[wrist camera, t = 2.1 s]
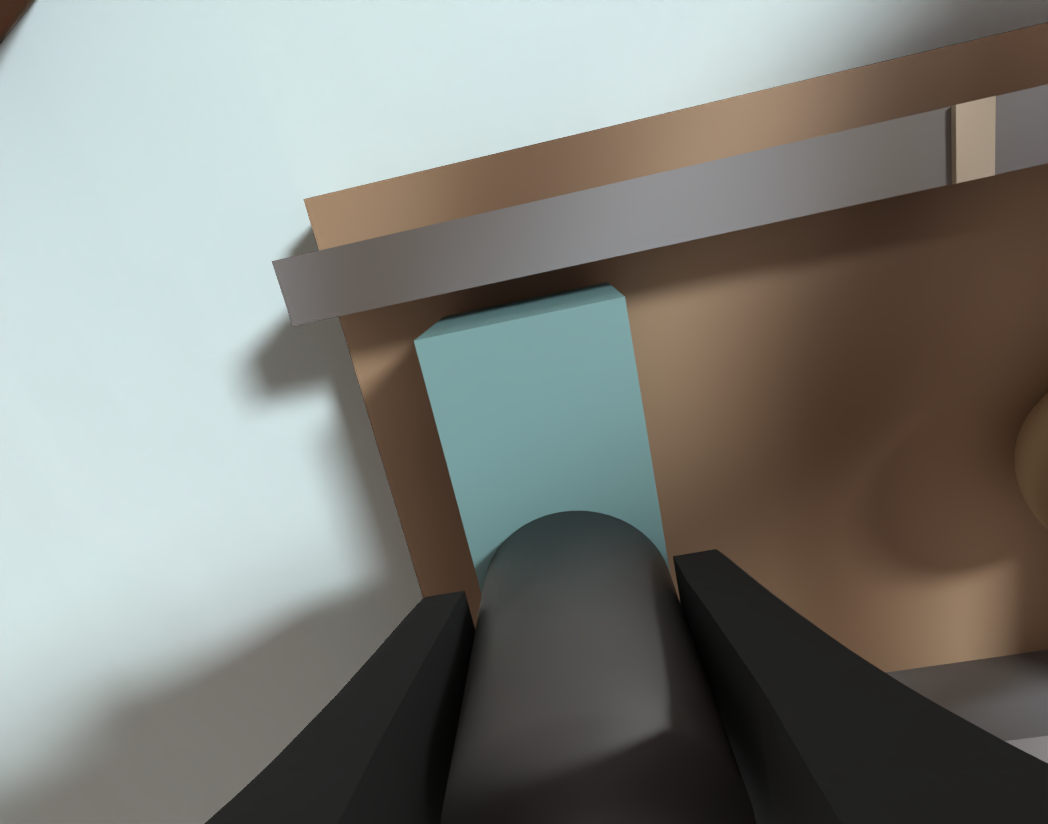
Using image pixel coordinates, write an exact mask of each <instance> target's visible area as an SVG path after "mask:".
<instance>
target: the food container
mask: <svg viewBox="0 0 1048 824" xmlns="http://www.w3.org/2000/svg"><path fill="white" fill-rule="evenodd" d="M33 1H34V0H0V43H1V42H2V40H3V39H4V38H5V37H6V35H7V34H8V33H9V32H10V30H11V29H12V28H13V26H14V25H15V24H16V23H17V21H18V20H19V19H20V17H21V16H22V15H23V14H24V12H25V11H26V10H27V9H28V7H29V6H30V5H31V3H32V2H33Z"/></svg>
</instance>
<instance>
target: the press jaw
mask: <svg viewBox="0 0 1048 824" xmlns="http://www.w3.org/2000/svg"><path fill="white" fill-rule="evenodd" d="M414 344H415V347H416V351H417V355H418V358H419V362H420V366H421V370H422V373H423V377H424V381H425V385H426V388H427V392H428V396H429V400H430V403H431V407H432V411H433V414H434V418H435V422H436V426H437V429H438V433H439V437H440V441H441V444H442V448H443V452H444V456H445V459H446V463H447V467H448V471H449V474H450V478H451V482H452V485H453V489H454V493H455V497H456V500H457V504H458V508H459V512H460V515H461V519H462V523H463V527H464V530H465V534H466V538H467V541H468V545H469V549H470V553H471V556H472V560H473V564H474V568H475V571H476V575H477V579H478V583H479V586H480V590H481V594H482V597H481V602H480V608H479V613H478V619H477V624H476V629H475V635H474V640H473V646H472V651H471V657H470V662H469V667H468V673H467V678H466V684H465V689H464V695H463V700H462V705H461V711H460V716H459V722H458V727H457V733H456V738H455V744H454V749H453V754H452V760H451V765H450V771H449V776H448V782H447V787H446V792H445V798H444V803H443V809H442V814H441V824H756V819H755V814H754V810H753V806H752V803H751V801H750V798H749V795H748V792H747V789H746V786H745V784H744V781H743V778H742V775H741V772H740V770H739V767H738V764H737V761H736V758H735V755H734V753H733V750H732V747H731V744H730V741H729V739H728V736H727V733H726V730H725V727H724V724H723V722H722V719H721V716H720V713H719V710H718V708H717V705H716V702H715V699H714V696H713V693H712V691H711V688H710V685H709V682H708V679H707V676H706V674H705V671H704V668H703V665H702V662H701V660H700V657H699V654H698V652H697V649H696V646H695V643H694V640H693V637H692V635H691V632H690V629H689V626H688V623H687V620H686V618H685V615H684V612H683V609H682V606H681V604H680V600H679V598H678V595H677V592H676V589H675V586H674V583H673V581H672V578H671V575H670V569H669V563H668V557H667V551H666V545H665V539H664V533H663V527H662V520H661V514H660V508H659V502H658V496H657V490H656V484H655V478H654V471H653V465H652V459H651V453H650V447H649V441H648V435H647V429H646V422H645V416H644V410H643V404H642V398H641V392H640V386H639V380H638V373H637V367H636V361H635V355H634V349H633V343H632V337H631V331H630V324H629V318H628V312H627V306H626V300H625V296H624V295H622V294H621V293H620V292H619V291H618V290H616V289H615V288H614V287H613V286H612V285H611V284H609V283H608V282H605V283H600V284H595V285H591V286H586V287H581V288H576V289H572V290H567V291H562V292H558V293H553V294H548V295H543V296H539V297H534V298H529V299H525V300H520V301H515V302H510V303H506V304H501V305H496V306H492V307H487V308H482V309H477V310H473V311H468V312H463V313H459V314H454V315H449V316H444V317H443V318H441V319H440V320H439V321H438V322H436V323H435V324H434V325H433V326H432V327H430V328H429V329H428V330H427V331H425V332H424V333H423V334H422V335H420V336H419V337H418V338H417V339H416V340H414Z"/></svg>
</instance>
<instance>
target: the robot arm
mask: <svg viewBox="0 0 1048 824" xmlns="http://www.w3.org/2000/svg"><path fill="white" fill-rule="evenodd" d="M673 560H674V566H675V573H676V579H677V585H678V591H679V598H680V604H681V606H682V609H683V612H684V615H685V618H686V620H687V623H688V626H689V629H690V632H691V635H692V637H693V640H694V643H695V646H696V649H697V652H698V654H699V657H700V660H701V662H702V665H703V668H704V671H705V674H706V676H707V679H708V682H709V685H710V688H711V691H712V693H713V696H714V699H715V702H716V705H717V708H718V710H719V713H720V716H721V719H722V722H723V724H724V727H725V730H726V733H727V736H728V739H729V741H730V744H731V747H732V750H733V753H734V755H735V758H736V761H737V764H738V767H739V770H740V772H741V775H742V778H743V781H744V784H745V786H746V789H747V792H748V795H749V798H750V801H751V803H752V806H753V810H754V814H755V819H756V824H1048V763H1046V762H1044V761H1042V760H1040V759H1038V758H1036V757H1034V756H1032V755H1030V754H1028V753H1026V752H1024V751H1023V750H1021V749H1019V748H1017V747H1015V746H1013V745H1011V744H1009V743H1007V742H1005V741H1003V740H1002V739H1000V738H998V737H996V736H994V735H993V734H991V733H989V732H987V731H985V730H983V729H982V728H980V727H978V726H976V725H974V724H973V723H971V722H969V721H967V720H965V719H964V718H962V717H960V716H958V715H956V714H955V713H953V712H951V711H949V710H947V709H945V708H944V707H942V706H940V705H938V704H936V703H935V702H933V701H931V700H929V699H928V698H926V697H924V696H923V695H921V694H919V693H918V692H916V691H914V690H913V689H911V688H909V687H907V686H906V685H904V684H903V683H901V682H899V681H898V680H896V679H894V678H893V677H891V676H890V675H888V674H887V673H885V672H884V671H882V670H880V669H879V668H877V667H876V666H874V665H873V664H871V663H869V662H868V661H866V660H865V659H863V658H862V657H860V656H859V655H857V654H856V653H854V652H853V651H851V650H850V649H848V648H847V647H845V646H844V645H842V644H841V643H840V642H838V641H837V640H835V639H834V638H832V637H831V636H830V635H828V634H827V633H825V632H824V631H823V630H821V629H820V628H818V627H817V626H816V625H814V624H813V623H812V622H810V621H809V620H807V619H806V618H805V617H803V616H802V615H800V614H799V613H798V612H796V611H795V610H794V609H792V608H791V607H790V606H788V605H787V604H786V603H784V602H783V601H782V600H780V599H779V598H778V597H777V596H775V595H774V594H773V593H771V592H770V591H769V590H768V589H766V588H765V587H764V586H762V585H761V584H760V583H759V582H757V581H756V580H755V579H754V578H752V577H751V576H750V575H749V574H748V573H746V572H745V571H744V570H743V569H741V568H740V567H739V566H738V565H737V564H735V563H734V562H733V561H732V560H730V559H729V558H728V557H727V556H725V555H724V554H723V553H721V552H720V551H718V550H717V549H713V550H707V551H701V552H695V553H689V554H683V555H677V556H673ZM474 635H475V627H474V623H473V619H472V616H471V612H470V608H469V605H468V601H467V598H466V594H465V590H464V591H458V592H452V593H446V594H440V595H434V596H428V597H424V598H423V599H422V600H421V601H420V602H419V603H418V604H417V605H416V607H415V608H414V609H413V610H412V611H411V612H410V613H409V614H408V615H407V616H406V618H405V619H404V620H403V621H402V622H401V623H400V624H399V626H398V627H397V628H396V629H395V630H394V631H393V632H392V634H391V635H390V636H389V637H388V638H387V639H386V640H385V642H384V643H383V644H382V645H381V646H380V647H379V648H378V650H377V651H376V652H375V653H374V654H373V655H372V656H371V657H370V659H369V660H368V661H367V662H366V663H365V664H364V665H363V666H362V668H361V669H360V670H359V671H358V672H357V673H356V674H355V675H354V677H353V678H352V679H351V680H350V681H349V682H348V683H347V684H346V685H345V687H344V688H343V689H342V690H341V691H340V692H339V693H338V694H337V695H336V696H335V698H334V699H333V700H332V701H331V702H330V703H329V704H328V705H327V706H326V707H325V708H324V709H323V710H322V711H321V712H320V713H319V714H318V715H317V716H316V717H315V718H314V719H313V720H312V721H311V722H310V723H309V724H308V725H307V726H306V727H305V728H304V729H303V731H302V732H301V733H300V734H299V735H298V736H297V737H296V738H295V739H294V740H293V741H292V742H291V743H290V744H289V745H288V746H287V747H286V748H285V749H284V750H283V751H282V752H281V753H280V754H279V755H278V756H277V757H276V758H275V759H274V760H273V761H272V762H271V763H270V764H269V765H268V766H267V767H266V768H265V769H264V770H263V771H262V772H261V773H260V774H259V775H258V776H257V777H256V778H254V779H253V780H252V781H251V782H250V783H249V784H248V785H247V786H246V787H245V788H244V789H243V790H242V791H241V792H239V793H238V794H237V795H236V796H235V797H234V798H233V799H232V800H231V801H230V802H228V803H227V804H226V805H225V806H224V807H223V808H222V809H221V810H219V811H218V812H217V813H216V814H215V815H214V816H213V817H212V818H210V819H209V820H208V821H207V822H206V823H205V824H441V814H442V809H443V803H444V798H445V792H446V787H447V782H448V776H449V771H450V765H451V760H452V754H453V749H454V744H455V738H456V733H457V727H458V722H459V716H460V711H461V705H462V700H463V695H464V689H465V684H466V678H467V673H468V667H469V662H470V657H471V651H472V646H473V640H474Z"/></svg>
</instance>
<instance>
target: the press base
mask: <svg viewBox="0 0 1048 824" xmlns="http://www.w3.org/2000/svg"><path fill="white" fill-rule="evenodd" d="M304 202H305V206H306V209H307V212H308V216H309V219H310V222H311V226H312V229H313V232H314V236H315V239H316V242H317V246H318V249H319V251H315V252H310V253H306V254H302V255H297V256H293V257H289V258H284V259H280V260H275V261H272V263H273V266H274V269H275V273H276V276H277V279H278V282H279V285H280V288H281V291H282V294H283V297H284V300H285V303H286V307H287V310H288V313H289V316H290V319H291V322H292V325H293V326H297V325H301V324H306V323H311V322H315V321H320V320H325V319H329V318H334V317H338V316H339V319H340V322H341V325H342V329H343V332H344V335H345V339H346V342H347V345H348V349H349V352H350V355H351V359H352V362H353V365H354V369H355V372H356V375H357V379H358V382H359V385H360V389H361V392H362V395H363V399H364V402H365V405H366V409H367V412H368V415H369V419H370V422H371V425H372V429H373V432H374V435H375V439H376V442H377V445H378V449H379V452H380V455H381V459H382V462H383V465H384V469H385V472H386V475H387V479H388V482H389V485H390V489H391V492H392V495H393V499H394V502H395V505H396V509H397V512H398V515H399V519H400V522H401V525H402V529H403V532H404V535H405V539H406V542H407V545H408V549H409V552H410V555H411V559H412V562H413V565H414V569H415V572H416V575H417V579H418V582H419V585H420V589H421V592H422V595H423V598H424V597H428V596H434V595H440V594H446V593H452V592H458V591H464V590H465V594H466V598H467V601H468V605H469V608H470V612H471V616H472V619H473V623H474V627H475V629H476V624H477V619H478V613H479V608H480V602H481V597H482V594H481V590H480V586H479V583H478V579H477V575H476V571H475V568H474V564H473V560H472V556H471V553H470V549H469V545H468V541H467V538H466V534H465V530H464V527H463V523H462V519H461V515H460V512H459V508H458V504H457V500H456V497H455V493H454V489H453V485H452V482H451V478H450V474H449V471H448V467H447V463H446V459H445V456H444V452H443V448H442V444H441V441H440V437H439V433H438V429H437V426H436V422H435V418H434V414H433V411H432V407H431V403H430V400H429V396H428V392H427V388H426V385H425V381H424V377H423V373H422V370H421V366H420V362H419V358H418V355H417V351H416V347H415V344H414V340H416V339H417V338H418V337H419V336H420V335H422V334H423V333H424V332H425V331H427V330H428V329H429V328H430V327H432V326H433V325H434V324H435V323H436V322H438V321H439V320H440V319H441V318H443V317H444V316H449V315H454V314H459V313H463V312H468V311H473V310H477V309H482V308H487V307H492V306H496V305H501V304H506V303H510V302H515V301H520V300H525V299H529V298H534V297H539V296H543V295H548V294H553V293H558V292H562V291H567V290H572V289H576V288H581V287H586V286H591V285H595V284H600V283H605V282H608V283H609V284H611V285H612V286H613V287H614V288H615V289H616V290H618V291H619V292H620V293H621V294H622V295H624V296H625V300H626V306H627V312H628V318H629V324H630V331H631V337H632V343H633V349H634V355H635V361H636V367H637V373H638V380H639V386H640V392H641V398H642V404H643V410H644V416H645V422H646V429H647V435H648V441H649V447H650V453H651V459H652V465H653V471H654V478H655V484H656V490H657V496H658V502H659V508H660V514H661V520H662V527H663V533H664V539H665V545H666V551H667V557H668V563H669V569H670V575H671V578H672V581H673V583H674V586H675V589H676V592H677V595H678V598H679V591H678V585H677V579H676V573H675V566H674V560H673V556H677V555H683V554H689V553H695V552H701V551H707V550H713V549H717V550H718V551H720V552H721V553H723V554H724V555H725V556H727V557H728V558H729V559H730V560H732V561H733V562H734V563H735V564H737V565H738V566H739V567H740V568H741V569H743V570H744V571H745V572H746V573H748V574H749V575H750V576H751V577H752V578H754V579H755V580H756V581H757V582H759V583H760V584H761V585H762V586H764V587H765V588H766V589H768V590H769V591H770V592H771V593H773V594H774V595H775V596H777V597H778V598H779V599H780V600H782V601H783V602H784V603H786V604H787V605H788V606H790V607H791V608H792V609H794V610H795V611H796V612H798V613H799V614H800V615H802V616H803V617H805V618H806V619H807V620H809V621H810V622H812V623H813V624H814V625H816V626H817V627H818V628H820V629H821V630H823V631H824V632H825V633H827V634H828V635H830V636H831V637H832V638H834V639H835V640H837V641H838V642H840V643H841V644H842V645H844V646H845V647H847V648H848V649H850V650H851V651H853V652H854V653H856V654H857V655H859V656H860V657H862V658H863V659H865V660H866V661H868V662H869V663H871V664H873V665H874V666H876V667H877V668H879V669H880V670H882V671H884V672H885V673H887V674H888V675H890V676H891V677H893V678H894V679H896V680H898V681H899V682H901V683H903V684H904V685H906V686H907V687H909V688H911V689H913V690H914V691H916V692H918V693H919V694H921V695H923V696H924V697H926V698H928V699H929V700H931V701H933V702H935V703H936V704H938V705H940V706H942V707H944V708H945V709H947V710H949V711H951V712H953V713H955V714H956V715H958V716H960V717H962V718H964V719H965V720H967V721H969V722H971V723H973V724H974V725H976V726H978V727H980V728H982V729H983V730H985V731H987V732H989V733H991V734H993V735H994V736H996V737H998V738H1000V739H1002V740H1003V741H1005V742H1007V743H1009V744H1011V745H1013V746H1015V747H1017V748H1019V749H1021V750H1023V751H1024V752H1026V753H1028V754H1030V755H1032V756H1034V757H1036V758H1038V759H1040V760H1042V761H1044V762H1046V763H1048V22H1047V23H1043V24H1038V25H1034V26H1030V27H1026V28H1022V29H1017V30H1013V31H1009V32H1005V33H1001V34H996V35H992V36H988V37H984V38H980V39H975V40H971V41H967V42H963V43H959V44H954V45H950V46H946V47H942V48H938V49H933V50H929V51H925V52H921V53H917V54H912V55H908V56H904V57H900V58H895V59H891V60H887V61H883V62H879V63H874V64H870V65H866V66H862V67H858V68H853V69H849V70H845V71H841V72H837V73H832V74H828V75H824V76H820V77H816V78H811V79H807V80H803V81H799V82H795V83H790V84H786V85H782V86H778V87H774V88H769V89H765V90H761V91H757V92H753V93H748V94H744V95H740V96H736V97H732V98H727V99H723V100H719V101H715V102H710V103H706V104H702V105H698V106H694V107H689V108H685V109H681V110H677V111H673V112H668V113H664V114H660V115H656V116H652V117H647V118H643V119H639V120H635V121H631V122H626V123H622V124H618V125H614V126H610V127H605V128H601V129H597V130H593V131H589V132H584V133H580V134H576V135H572V136H568V137H563V138H559V139H555V140H551V141H546V142H542V143H538V144H534V145H530V146H525V147H521V148H517V149H513V150H509V151H504V152H500V153H496V154H492V155H488V156H483V157H479V158H475V159H471V160H467V161H462V162H458V163H454V164H450V165H446V166H441V167H437V168H433V169H429V170H425V171H420V172H416V173H412V174H408V175H404V176H399V177H395V178H391V179H387V180H382V181H378V182H374V183H370V184H366V185H361V186H357V187H353V188H349V189H345V190H340V191H336V192H332V193H328V194H324V195H319V196H315V197H311V198H307V199H304ZM679 600H680V598H679Z"/></svg>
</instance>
